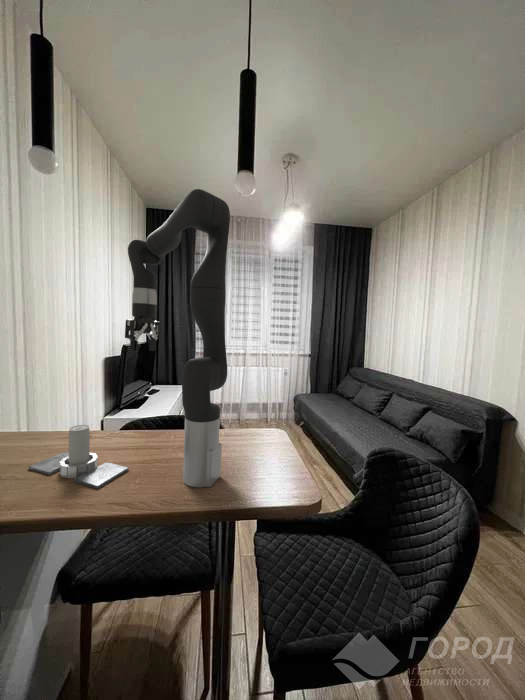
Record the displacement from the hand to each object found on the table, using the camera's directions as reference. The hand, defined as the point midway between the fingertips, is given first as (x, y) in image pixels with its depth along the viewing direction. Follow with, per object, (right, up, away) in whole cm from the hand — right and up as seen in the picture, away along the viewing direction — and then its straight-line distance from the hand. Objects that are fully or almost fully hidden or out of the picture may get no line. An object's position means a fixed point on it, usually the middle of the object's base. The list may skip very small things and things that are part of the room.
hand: (143, 351), depth 94 cm
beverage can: (-11, -33, -17) cm, 39 cm away
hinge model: (-11, -33, -17) cm, 38 cm away
